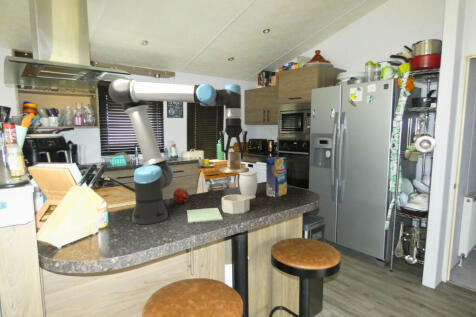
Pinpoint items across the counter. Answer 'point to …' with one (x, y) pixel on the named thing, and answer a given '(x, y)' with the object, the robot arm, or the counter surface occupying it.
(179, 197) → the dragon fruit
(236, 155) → the lid
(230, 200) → the bowl
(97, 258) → the counter surface
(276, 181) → the blue food box
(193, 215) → the mat
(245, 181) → the jar
